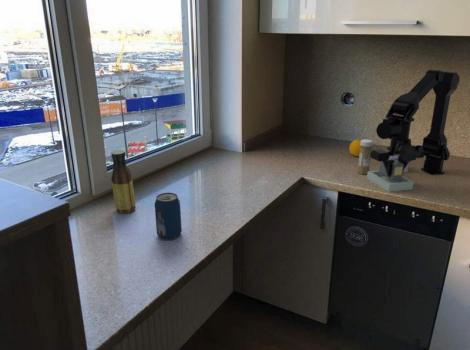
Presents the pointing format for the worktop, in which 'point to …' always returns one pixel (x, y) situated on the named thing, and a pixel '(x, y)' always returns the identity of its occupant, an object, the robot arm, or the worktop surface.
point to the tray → (389, 182)
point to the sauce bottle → (122, 183)
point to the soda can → (168, 216)
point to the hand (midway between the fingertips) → (394, 175)
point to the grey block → (393, 170)
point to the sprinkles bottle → (365, 156)
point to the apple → (355, 147)
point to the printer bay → (405, 167)
